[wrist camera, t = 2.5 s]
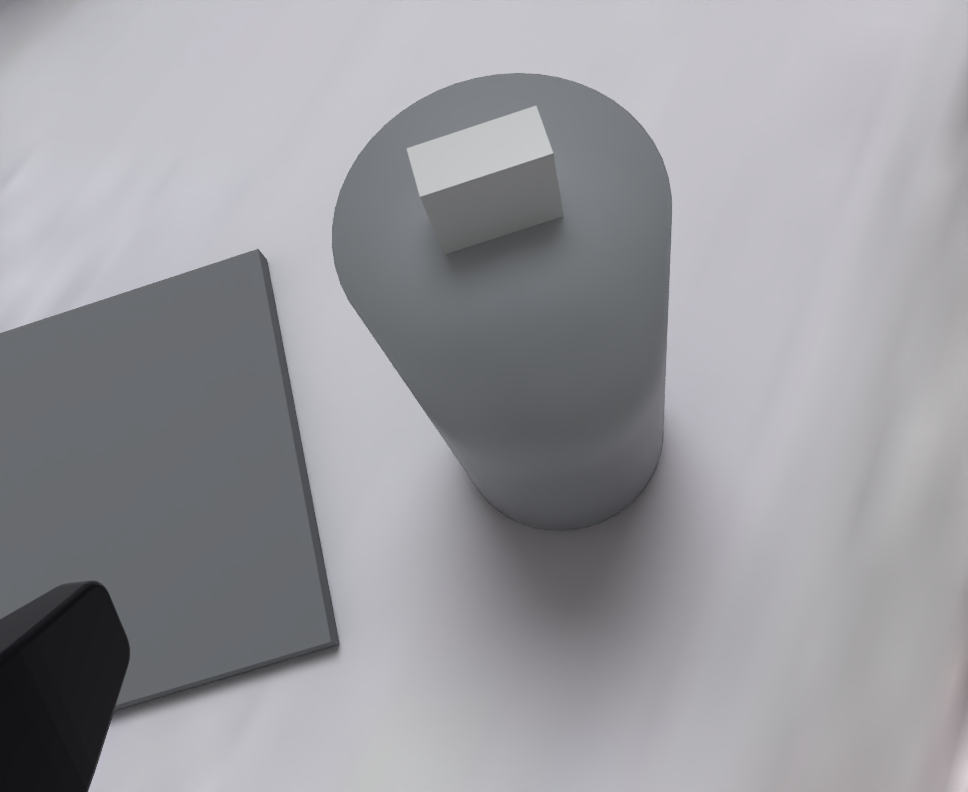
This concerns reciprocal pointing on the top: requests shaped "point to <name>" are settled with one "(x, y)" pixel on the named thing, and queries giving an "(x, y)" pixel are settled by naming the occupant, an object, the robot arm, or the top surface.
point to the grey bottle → (520, 286)
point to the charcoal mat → (165, 476)
